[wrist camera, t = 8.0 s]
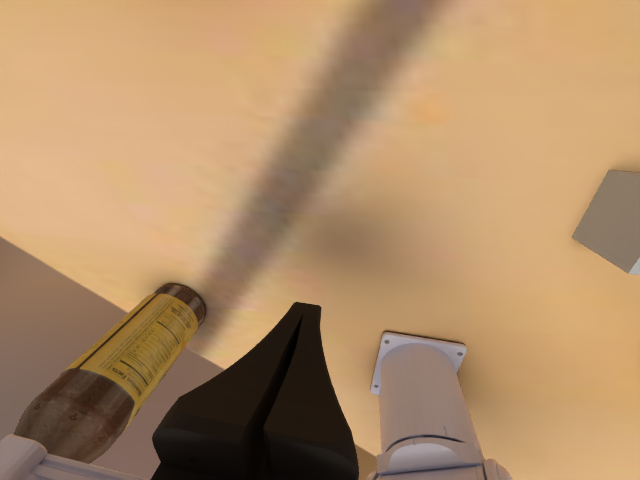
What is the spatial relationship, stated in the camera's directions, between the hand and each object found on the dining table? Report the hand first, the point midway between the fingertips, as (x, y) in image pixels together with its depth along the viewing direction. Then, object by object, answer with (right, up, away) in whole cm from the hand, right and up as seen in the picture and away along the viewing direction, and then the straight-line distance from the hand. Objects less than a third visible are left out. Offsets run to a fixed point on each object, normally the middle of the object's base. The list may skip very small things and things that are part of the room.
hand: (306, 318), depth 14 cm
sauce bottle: (-15, -3, +16) cm, 22 cm away
